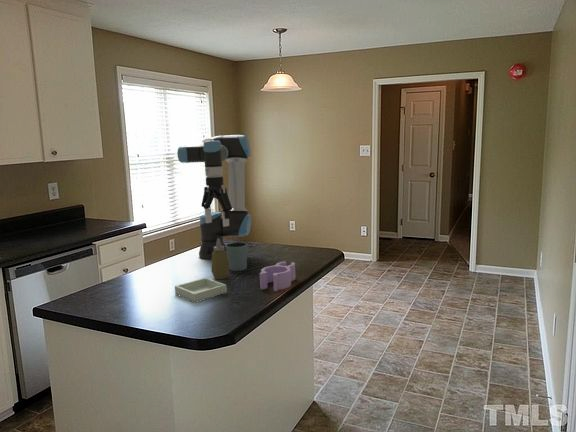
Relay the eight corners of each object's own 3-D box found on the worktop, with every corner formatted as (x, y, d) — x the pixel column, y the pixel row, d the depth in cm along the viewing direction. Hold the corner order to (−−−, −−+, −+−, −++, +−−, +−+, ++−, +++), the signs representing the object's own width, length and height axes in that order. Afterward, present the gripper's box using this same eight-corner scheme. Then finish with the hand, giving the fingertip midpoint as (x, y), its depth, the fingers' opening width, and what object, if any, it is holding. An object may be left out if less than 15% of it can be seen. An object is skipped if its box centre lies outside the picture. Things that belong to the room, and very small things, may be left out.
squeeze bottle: (228, 280, 205) (226, 240, 202) (210, 280, 205) (207, 241, 202) (231, 274, 213) (228, 236, 210) (213, 275, 213) (211, 237, 210)
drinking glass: (250, 265, 227) (248, 241, 225) (246, 271, 217) (244, 246, 215) (229, 265, 228) (228, 242, 226) (225, 271, 219) (223, 246, 216)
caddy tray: (175, 294, 189) (174, 286, 189) (206, 285, 199) (206, 277, 198) (194, 302, 178) (194, 294, 178) (226, 293, 188) (226, 284, 188)
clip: (277, 275, 210) (276, 260, 209) (302, 278, 205) (301, 263, 203) (254, 289, 193) (254, 272, 191) (281, 292, 187) (280, 276, 186)
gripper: (191, 176, 208) (195, 222, 212) (223, 178, 190) (226, 229, 193) (205, 174, 213) (208, 220, 217) (238, 176, 195) (241, 226, 198)
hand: (217, 224), depth 205 cm, fingers open, 13 cm apart
